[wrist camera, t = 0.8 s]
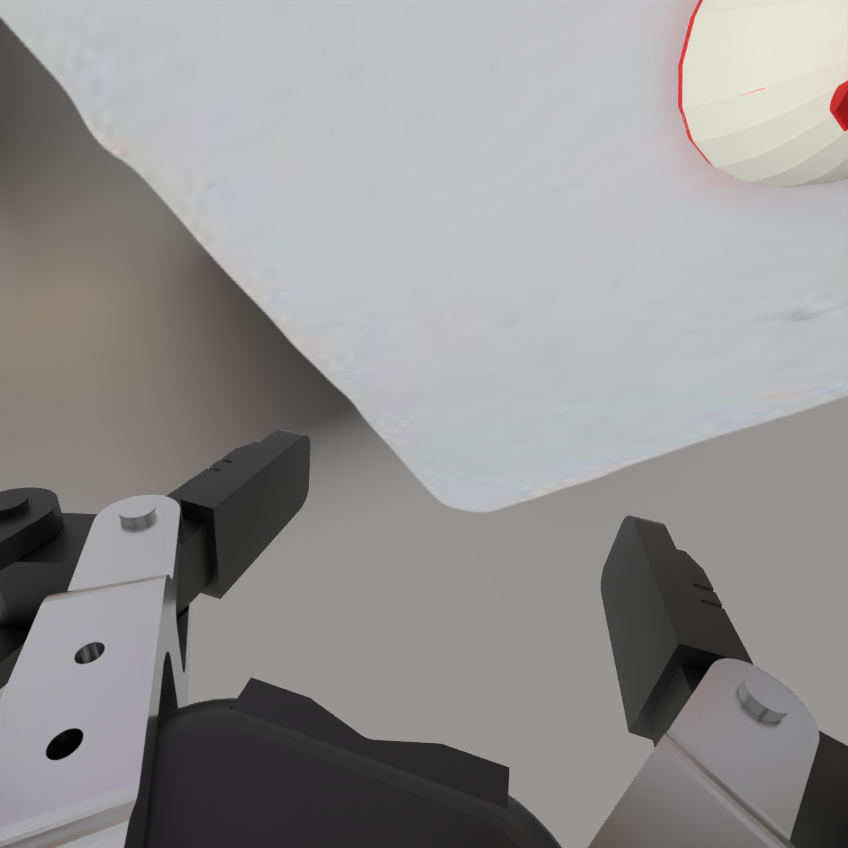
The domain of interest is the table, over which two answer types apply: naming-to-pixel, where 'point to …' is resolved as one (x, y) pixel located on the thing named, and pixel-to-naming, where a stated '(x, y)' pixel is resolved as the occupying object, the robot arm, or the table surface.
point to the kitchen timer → (768, 89)
